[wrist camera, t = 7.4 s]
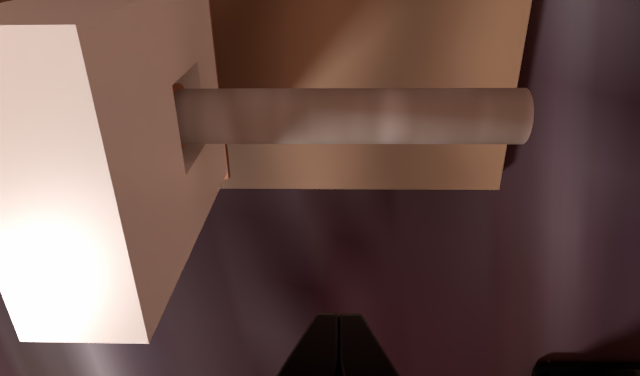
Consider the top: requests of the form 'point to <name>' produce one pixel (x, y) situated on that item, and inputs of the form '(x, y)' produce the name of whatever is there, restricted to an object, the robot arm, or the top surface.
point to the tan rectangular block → (100, 163)
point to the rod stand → (362, 93)
